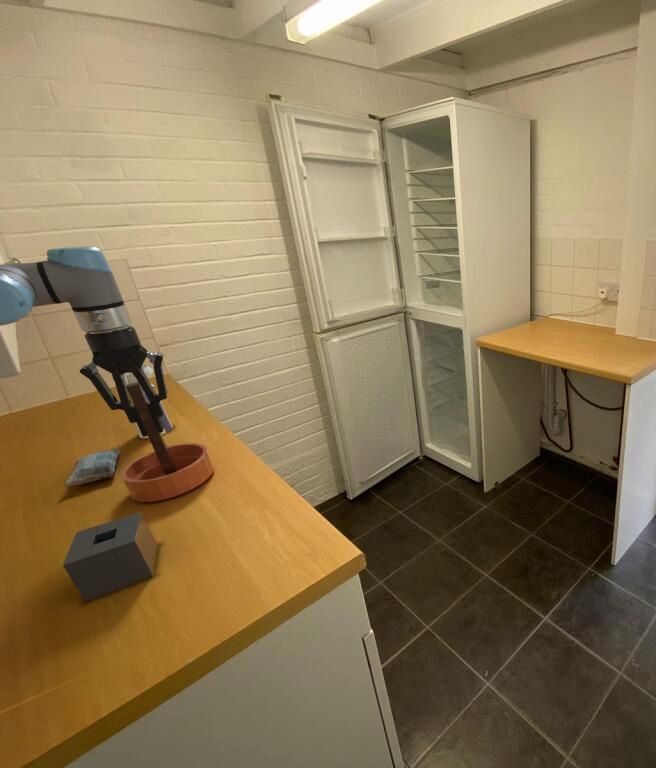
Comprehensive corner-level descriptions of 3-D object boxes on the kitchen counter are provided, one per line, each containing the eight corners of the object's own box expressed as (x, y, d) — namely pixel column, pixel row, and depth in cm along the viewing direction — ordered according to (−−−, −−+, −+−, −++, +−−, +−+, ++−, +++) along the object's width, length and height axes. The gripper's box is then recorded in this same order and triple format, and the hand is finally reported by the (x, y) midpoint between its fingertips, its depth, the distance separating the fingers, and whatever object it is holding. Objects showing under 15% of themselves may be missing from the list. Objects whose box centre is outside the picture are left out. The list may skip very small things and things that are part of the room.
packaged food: (68, 494, 94) (58, 476, 92) (79, 470, 103) (70, 453, 101) (119, 480, 99) (110, 463, 97) (125, 458, 108) (117, 442, 106)
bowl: (127, 514, 87) (115, 491, 85) (136, 478, 99) (126, 457, 97) (215, 487, 95) (206, 465, 93) (214, 456, 107) (206, 436, 105)
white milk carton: (163, 437, 117) (128, 353, 107) (130, 440, 116) (91, 356, 106) (181, 423, 125) (149, 343, 115) (149, 426, 124) (115, 345, 114)
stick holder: (85, 601, 68) (62, 565, 65) (96, 566, 75) (76, 532, 72) (153, 575, 72) (134, 540, 69) (157, 544, 79) (141, 511, 76)
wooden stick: (168, 482, 96) (125, 386, 86) (168, 477, 97) (127, 383, 88) (178, 478, 97) (138, 384, 87) (179, 474, 98) (139, 381, 89)
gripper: (50, 340, 76) (105, 450, 85) (154, 325, 83) (194, 428, 93) (61, 331, 82) (112, 435, 91) (158, 318, 89) (195, 415, 99)
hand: (153, 431), depth 92 cm, fingers closed on wooden stick, 2 cm apart
